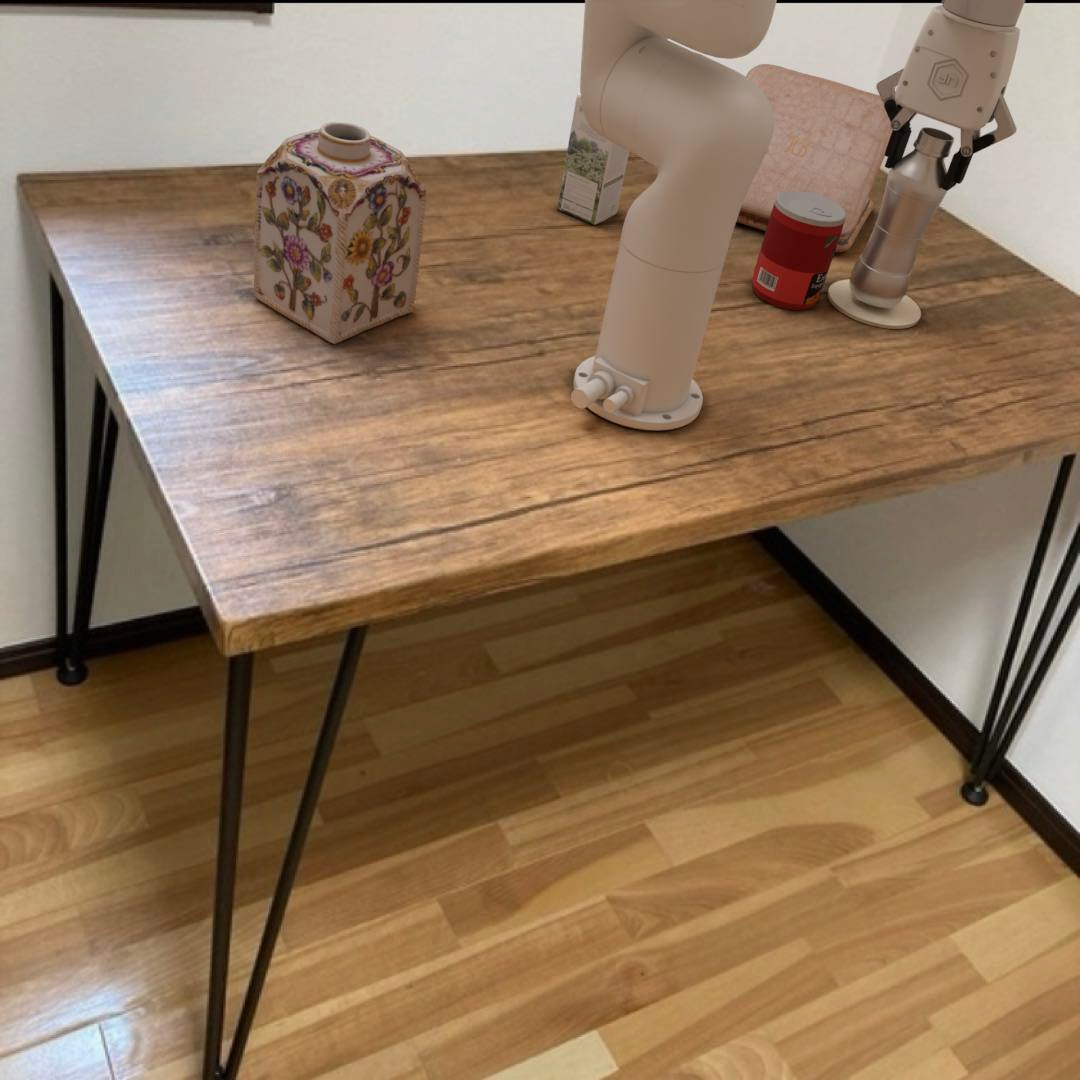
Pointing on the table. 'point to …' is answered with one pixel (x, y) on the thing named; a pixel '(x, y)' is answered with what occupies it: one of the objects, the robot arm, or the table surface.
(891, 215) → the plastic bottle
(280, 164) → the decorative jar
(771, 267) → the canned food
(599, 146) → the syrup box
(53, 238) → the table surface
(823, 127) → the case
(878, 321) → the coaster
